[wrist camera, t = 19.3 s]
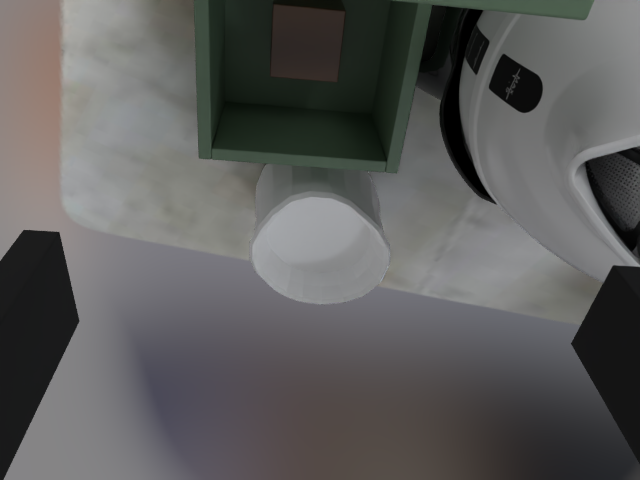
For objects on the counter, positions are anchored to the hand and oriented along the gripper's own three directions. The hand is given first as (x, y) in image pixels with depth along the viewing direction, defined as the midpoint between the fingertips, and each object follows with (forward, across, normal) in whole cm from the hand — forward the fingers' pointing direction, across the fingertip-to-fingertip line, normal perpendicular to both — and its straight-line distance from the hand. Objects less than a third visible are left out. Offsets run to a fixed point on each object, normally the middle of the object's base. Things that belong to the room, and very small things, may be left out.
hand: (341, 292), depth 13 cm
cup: (+29, +2, -13) cm, 32 cm away
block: (+28, 0, -1) cm, 28 cm away
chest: (+29, 0, 0) cm, 29 cm away
